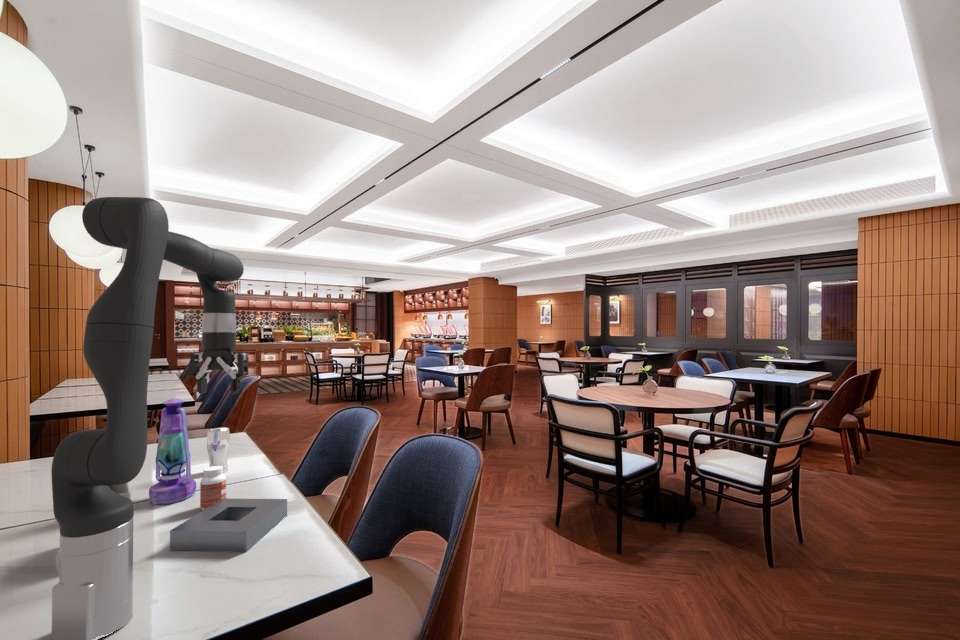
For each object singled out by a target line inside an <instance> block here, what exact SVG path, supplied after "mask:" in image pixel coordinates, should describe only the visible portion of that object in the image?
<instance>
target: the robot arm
mask: <svg viewBox="0 0 960 640" xmlns="http://www.w3.org/2000/svg"><path fill="white" fill-rule="evenodd" d="M81 218H82V224H83V226H84V229H85V231H86V232H87V234H88V235H89V237H91V238H92V239H93V240H94V241H96V242H98V243H99V244H102V245H104V246H106V247H107V246H108V247H111V248H118V249H125V250H126V252H125V258H124V262H123V265H122V267H121V269H120V271H119V273H118V274H117V276H116V277H115V278H114V279H113V281H112V282H111V283H110V284H109V286H108V287H107V288H106V289H105V290H104V291H103V292H102V294H100V296H98V298H97V300H96V301H95V302H94V304H93V305H92V307H91V308H90V309H89V310H88V313H87V316H86V317H87V318H86V321H85V328H84V334H83V335H84V336H83V346H82V347H83V348H82V353H83V357H84V359H85V363H86V364H87V366H88V369H89V370H90V373H91V374H92V375H93V377H94V378H95V380H96V382H97V383H98V385H99V387H100V388H101V390H102V392H103V395H104V398H105V402H106V410H107V411H106V428H101V429H99V428H98V429H94V428H93V429H81V430H77V431H74V432H72V433H70V434H68V435H67V436H65V438H63V439H62V440H61V441H60V443H59V444H58V446H57V447H56V449H55V452H54V455H53V458H52V462H51V472H50V473H51V489H52V491H51V492H52V505H53V506H52V507H53V508H52V510H53V515H54V518H55V520H56V521H57V523H58V525H59V559H58V560H59V566H58V568H59V569H58V573H59V574H58V583H56V584H54V585H53V586H52V588H51V590H52V591H51V640H92V639H95V638H96V637H98V636H101V635H106V634H109V633H111V632H114V631H116V630H117V631H119V630H120V629H122V628H123V627H124V626H126V624H127V623H128V622H130V620H131V619H132V618H133V612H134V611H133V609H134V608H133V606H134V605H133V604H134V603H133V597H134V595H133V594H134V593H133V591H134V588H133V587H134V586H133V584H134V514H135V513H134V509H135V508H134V502H133V500H132V499H131V500H130V499H129V498H127V497H124V496H122V495H120V494H118V493H116V492H114V491H113V490H112V489H111V488H110V487H109V486H108V485H120V484H125V483H128V484H129V483H130V482H131V481H133V480H134V479H135V478H136V477H138V475H139V474H140V472H141V471H142V468H143V466H144V463H145V461H146V457H147V451H148V386H149V385H148V384H149V372H150V371H149V370H150V361H151V354H152V347H153V340H154V339H153V337H154V327H155V314H156V313H155V312H156V303H157V293H158V285H159V280H160V275H161V270H162V267H163V266H162V265H163V261H166V262H168V263H172V264H173V265H174V264H175V265H177V266H179V267H182V268H183V269H186V270H189V271H191V272H193V273H196V278H197V280H198V283H199V287H200V290H201V293H202V298H203V301H202V302H203V309H202V311H203V312H202V313H203V315H202V321H201V322H202V323H201V349H202V350H203V352H202V353H201V352H198V353H197V352H196V353H191V354H190V355H189V356H190V357H189V371H188V376H189V377H190V378H191V377H193V378H195V379H196V380H197V381H196V390H197V392H198V394H199V395H200V394H201V395H202V394H206V393H208V378H207V377H208V376H209V375H210V373H212V371H225V372H226V373H227V374H228V375H229V376H230V378H231V379H230V394H231V395H235V394H238V393H239V392H240V390H241V379H242V378H244V377H246V376H249V359H248V358H249V357H248V355H249V354H248V353H247V352H239V353H236V348H237V319H236V295H235V294H234V292H232V291H229V290H224V289H220V287H219V286H218V283H219V282H221V283H222V282H224V283H225V282H236V281H238V280H239V279H241V278H242V276H243V274H244V271H245V270H244V265H243V262H242V261H241V259H240V258H239V257H238V256H236V255H235V254H233V253H231V252H229V251H224V250H221V249H217V248H212V247H210V246H209V245H207V244H205V243H203V242H201V241H199V240H198V239H195V238H193V237H190V236H187V235H184V234H180V233H176V232H173V231H170V230H169V229H170V228H169V227H170V225H169V218H168V214H167V211H166V209H165V207H164V206H163V205H162V203H160V202H159V201H157V200H156V199H153V198H151V197H150V198H149V197H141V196H137V197H136V196H103V197H102V196H101V197H97V198H94V199H91V200H90V201H88V202H87V203H86V204H85V205H84V207H83V210H82V214H81ZM217 282H218V283H217ZM202 361H203V364H202ZM235 361H236V362H237V364H236V363H235ZM121 627H122V628H121ZM118 629H119V630H118ZM117 631H116V632H117ZM114 633H115V632H114Z"/></svg>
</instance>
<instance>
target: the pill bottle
mask: <svg viewBox="0 0 960 640" xmlns="http://www.w3.org/2000/svg"><path fill="white" fill-rule="evenodd" d="M222 472H223V466H212V467H209V466H208V467H205V468H204V469H203V473H202V474H203V477H202V478H201V479H200V481H199V482H200V489H199V491H200V492H199V493H200V494H199V495H200V501H199V504H200V505H199V506H200V511H202V510H205V509H206V508H208V507H210V506H211V505H213V504H215V503H216V502H218V501H219V500H221V499H227V476H226V475H225V474H224V473H222Z"/></svg>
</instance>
